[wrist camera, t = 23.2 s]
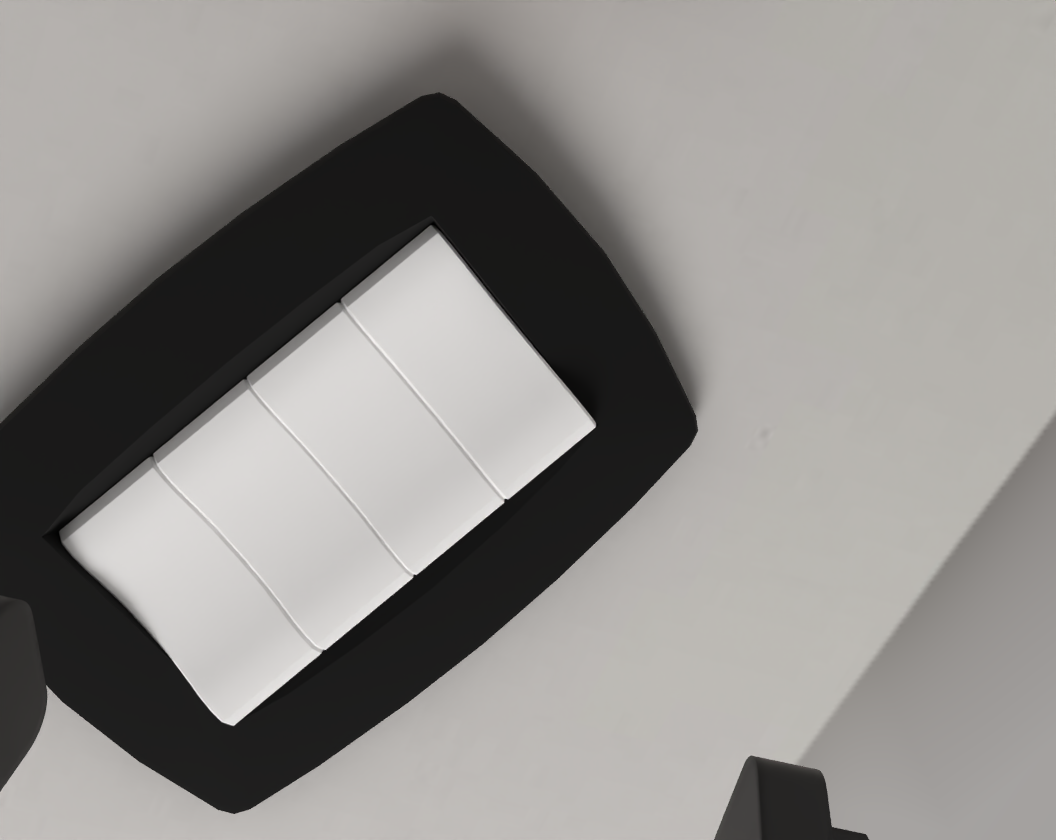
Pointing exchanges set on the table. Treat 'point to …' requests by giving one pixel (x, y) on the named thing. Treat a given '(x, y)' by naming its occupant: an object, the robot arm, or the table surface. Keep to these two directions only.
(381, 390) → the light switch
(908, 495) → the table surface
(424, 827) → the table surface
